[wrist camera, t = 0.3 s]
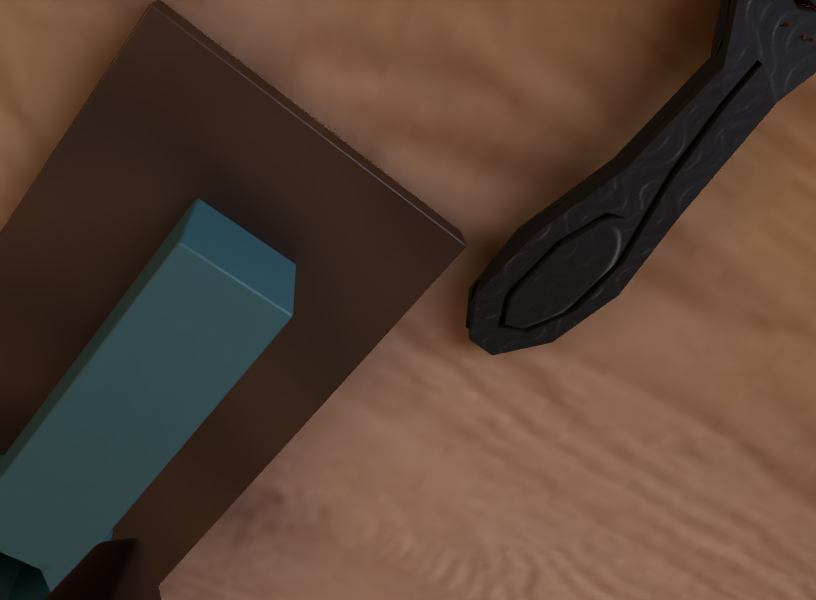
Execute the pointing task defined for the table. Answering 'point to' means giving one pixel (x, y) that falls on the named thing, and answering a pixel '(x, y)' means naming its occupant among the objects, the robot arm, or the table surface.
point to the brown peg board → (154, 220)
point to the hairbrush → (642, 183)
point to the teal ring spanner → (139, 392)
